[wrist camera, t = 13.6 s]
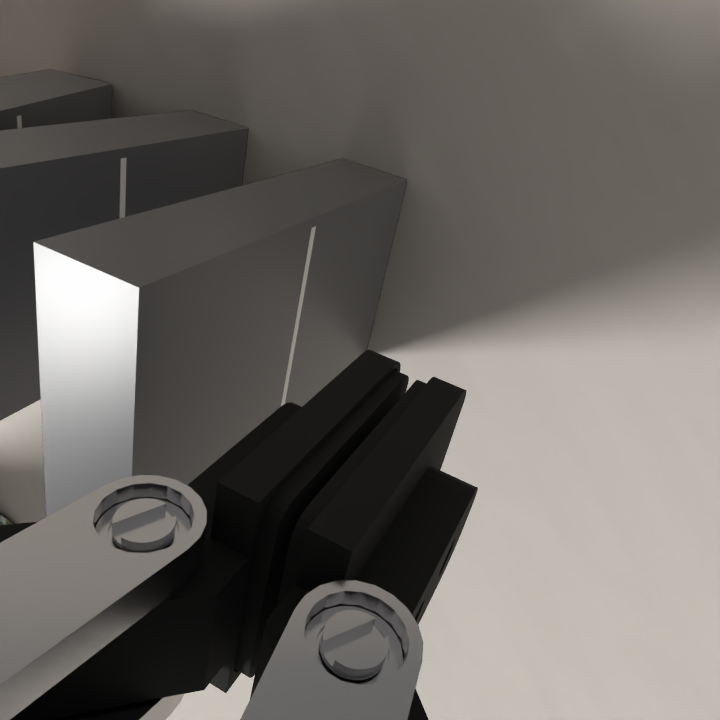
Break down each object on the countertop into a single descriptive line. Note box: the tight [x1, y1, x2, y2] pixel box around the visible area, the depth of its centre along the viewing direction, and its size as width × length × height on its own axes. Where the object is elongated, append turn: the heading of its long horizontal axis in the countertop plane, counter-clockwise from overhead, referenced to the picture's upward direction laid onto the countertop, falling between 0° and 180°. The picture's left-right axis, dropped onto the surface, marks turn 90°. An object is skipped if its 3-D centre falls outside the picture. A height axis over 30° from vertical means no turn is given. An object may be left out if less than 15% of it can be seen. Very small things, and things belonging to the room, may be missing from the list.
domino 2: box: [0, 110, 248, 420], centre depth 15 cm, size 2×5×9 cm, turn 167°
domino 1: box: [33, 159, 407, 517], centre depth 14 cm, size 2×5×9 cm, turn 167°
